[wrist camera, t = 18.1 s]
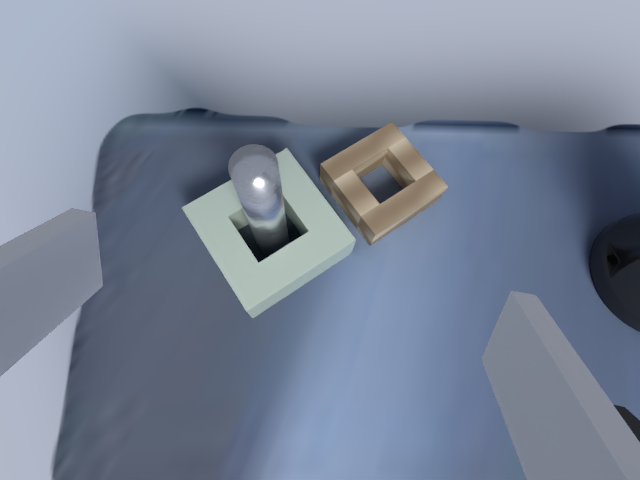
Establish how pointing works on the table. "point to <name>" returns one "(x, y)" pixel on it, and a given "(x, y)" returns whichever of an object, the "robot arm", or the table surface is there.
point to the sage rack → (287, 263)
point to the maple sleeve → (404, 168)
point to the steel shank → (260, 195)
